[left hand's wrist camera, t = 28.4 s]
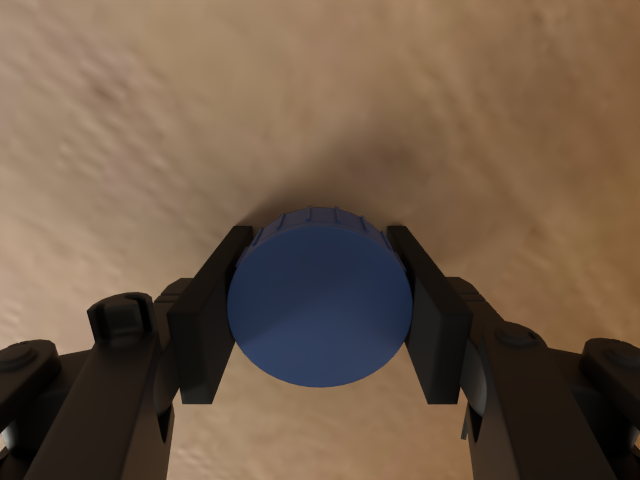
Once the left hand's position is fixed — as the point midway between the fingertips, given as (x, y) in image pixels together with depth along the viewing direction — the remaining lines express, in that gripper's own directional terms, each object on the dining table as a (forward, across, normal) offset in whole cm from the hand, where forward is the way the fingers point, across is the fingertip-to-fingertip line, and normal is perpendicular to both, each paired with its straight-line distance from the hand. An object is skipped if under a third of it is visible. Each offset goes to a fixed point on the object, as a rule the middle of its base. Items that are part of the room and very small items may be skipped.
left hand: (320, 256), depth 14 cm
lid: (-4, 0, 0) cm, 4 cm away
